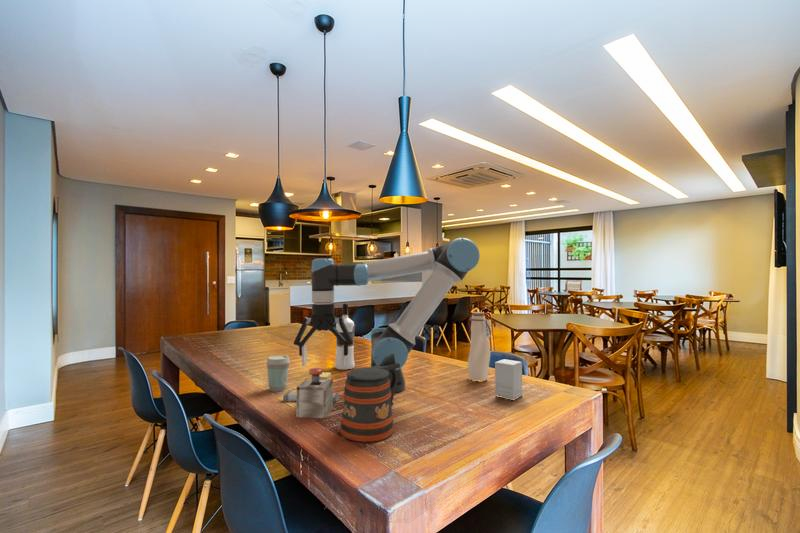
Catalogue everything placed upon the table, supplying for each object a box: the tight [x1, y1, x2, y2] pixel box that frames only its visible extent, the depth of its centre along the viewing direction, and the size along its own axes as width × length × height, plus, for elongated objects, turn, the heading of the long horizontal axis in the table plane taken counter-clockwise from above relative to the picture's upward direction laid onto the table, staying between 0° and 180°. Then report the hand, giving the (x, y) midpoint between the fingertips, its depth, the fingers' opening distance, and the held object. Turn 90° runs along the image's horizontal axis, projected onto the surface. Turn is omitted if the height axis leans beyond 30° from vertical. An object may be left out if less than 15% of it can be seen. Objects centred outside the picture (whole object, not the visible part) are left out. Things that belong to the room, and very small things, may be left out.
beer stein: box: [339, 354, 400, 443], centre depth 108 cm, size 19×15×20 cm
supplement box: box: [494, 358, 523, 399], centre depth 138 cm, size 7×7×13 cm
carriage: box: [320, 371, 332, 380], centre depth 132 cm, size 5×6×8 cm
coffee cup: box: [265, 354, 291, 393], centre depth 144 cm, size 8×9×12 cm
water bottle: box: [467, 311, 492, 380], centre depth 161 cm, size 10×9×28 cm
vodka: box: [334, 302, 356, 371], centre depth 179 cm, size 9×9×30 cm
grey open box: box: [295, 378, 334, 419], centre depth 120 cm, size 9×9×9 cm
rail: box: [282, 391, 340, 404], centre depth 132 cm, size 18×5×2 cm, turn 87°
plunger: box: [308, 367, 323, 385], centre depth 121 cm, size 4×4×5 cm
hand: (323, 365), depth 132 cm, fingers open, 13 cm apart
